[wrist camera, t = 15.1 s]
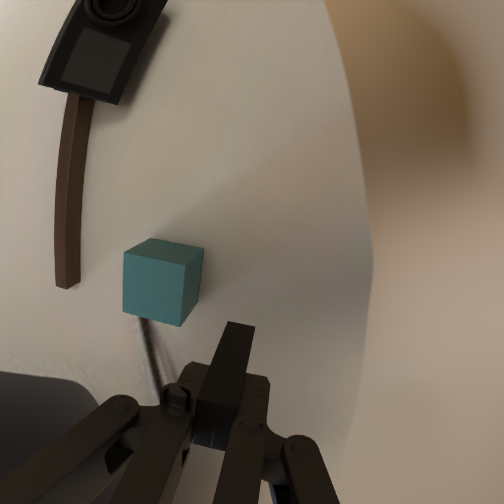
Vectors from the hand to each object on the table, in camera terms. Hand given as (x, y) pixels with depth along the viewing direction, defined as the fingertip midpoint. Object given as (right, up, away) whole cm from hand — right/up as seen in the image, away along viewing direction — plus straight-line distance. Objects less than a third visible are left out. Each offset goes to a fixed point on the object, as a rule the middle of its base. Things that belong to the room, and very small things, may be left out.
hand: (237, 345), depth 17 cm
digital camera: (-9, +22, +5) cm, 24 cm away
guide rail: (-14, +22, +7) cm, 27 cm away
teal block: (-6, +3, +11) cm, 13 cm away
